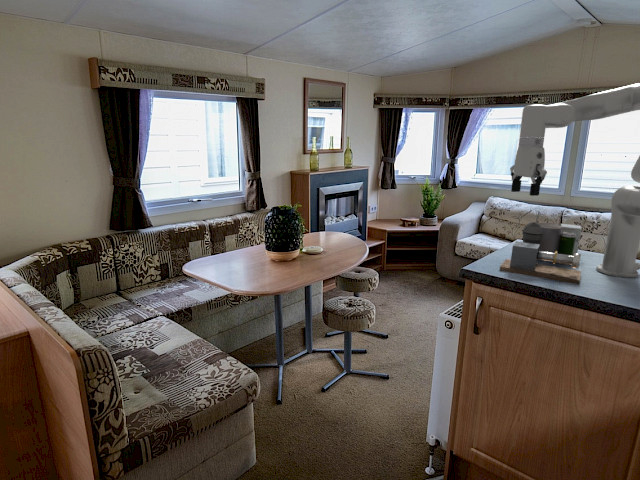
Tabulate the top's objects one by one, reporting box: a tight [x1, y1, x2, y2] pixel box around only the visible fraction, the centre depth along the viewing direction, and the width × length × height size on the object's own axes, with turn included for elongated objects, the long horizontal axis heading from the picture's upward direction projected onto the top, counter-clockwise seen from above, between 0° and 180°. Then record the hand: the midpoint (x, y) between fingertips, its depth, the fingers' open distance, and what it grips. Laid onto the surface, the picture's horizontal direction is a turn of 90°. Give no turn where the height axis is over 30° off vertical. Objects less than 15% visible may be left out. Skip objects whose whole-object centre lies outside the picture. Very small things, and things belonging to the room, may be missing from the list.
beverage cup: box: [522, 211, 543, 244], centre depth 161 cm, size 7×7×20 cm
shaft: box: [537, 251, 582, 269], centre depth 146 cm, size 18×5×5 cm, turn 57°
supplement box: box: [559, 223, 583, 256], centre depth 172 cm, size 7×7×13 cm
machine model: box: [499, 240, 582, 286], centre depth 148 cm, size 25×12×10 cm, turn 57°
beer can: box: [556, 232, 576, 266], centre depth 161 cm, size 5×5×12 cm
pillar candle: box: [537, 221, 562, 262], centre depth 166 cm, size 10×10×15 cm
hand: (524, 193), depth 144 cm, fingers open, 9 cm apart
